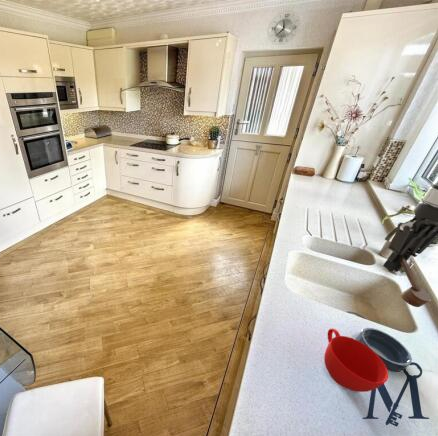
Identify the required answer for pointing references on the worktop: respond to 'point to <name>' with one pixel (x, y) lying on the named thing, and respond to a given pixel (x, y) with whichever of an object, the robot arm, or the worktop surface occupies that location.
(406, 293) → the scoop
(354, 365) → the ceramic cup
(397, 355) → the bowl
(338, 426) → the worktop surface
